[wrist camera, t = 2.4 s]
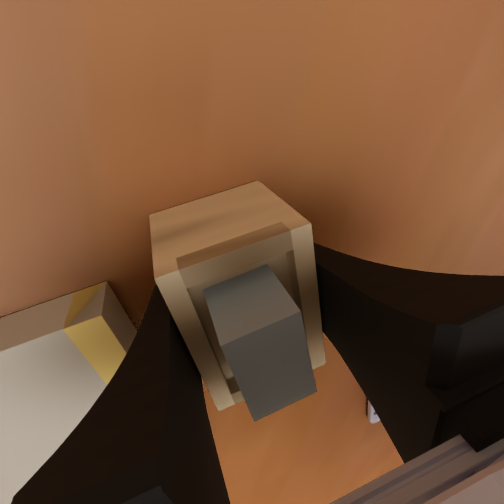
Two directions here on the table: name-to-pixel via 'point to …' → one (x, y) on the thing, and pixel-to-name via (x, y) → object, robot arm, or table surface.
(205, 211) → the tan hollow block
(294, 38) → the table surface
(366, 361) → the robot arm
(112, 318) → the dock
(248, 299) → the grey square prism
